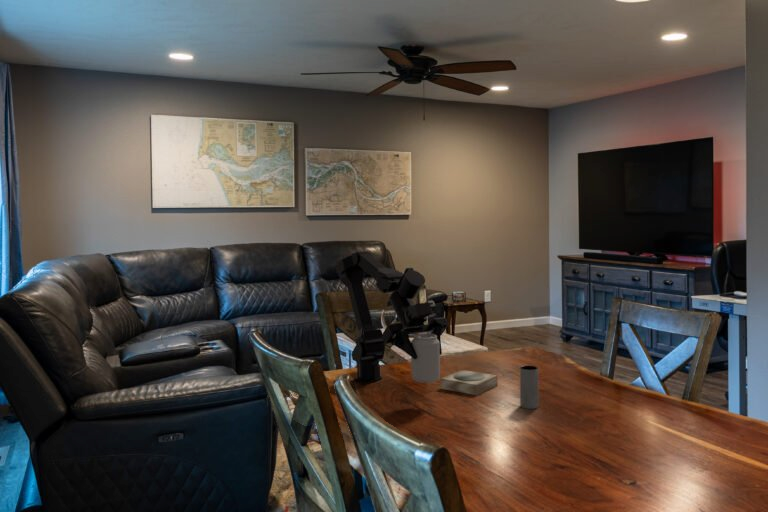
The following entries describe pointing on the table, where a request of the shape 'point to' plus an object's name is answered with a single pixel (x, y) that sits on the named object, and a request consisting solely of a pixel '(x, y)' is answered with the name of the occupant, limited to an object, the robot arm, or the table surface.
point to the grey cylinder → (529, 387)
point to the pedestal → (469, 382)
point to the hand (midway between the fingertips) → (428, 356)
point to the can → (426, 358)
